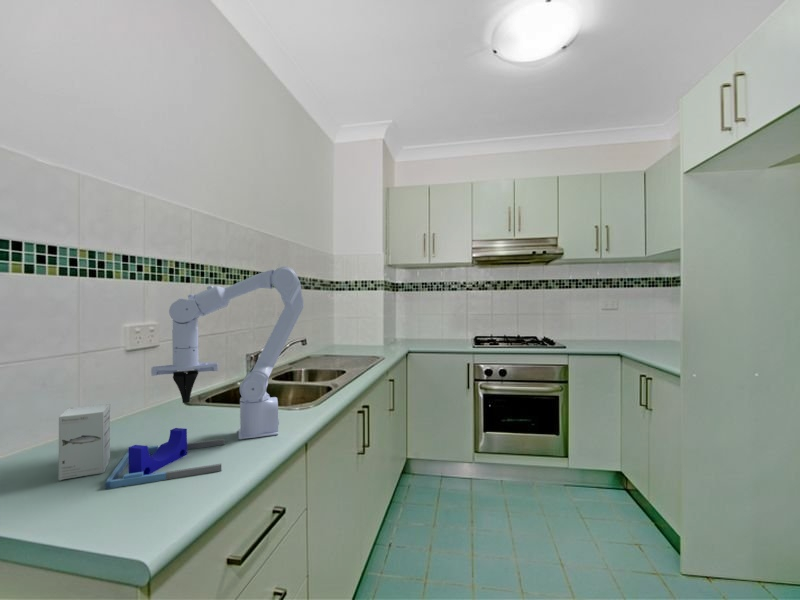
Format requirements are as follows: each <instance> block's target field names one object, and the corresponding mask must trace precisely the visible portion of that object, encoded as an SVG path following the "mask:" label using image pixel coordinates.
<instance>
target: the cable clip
mask: <svg viewBox="0 0 800 600" xmlns="http://www.w3.org/2000/svg"><path fill="white" fill-rule="evenodd" d="M187 433H188V428H183V427H182V428H180V427H174V428H172V429H170V431H169V437H168V440H167V441H166V442H164V443H162V444H160V445H159V446H158V447H159V448H158V450H157V451H156V452H155V453H154V454H150V455H149V452H148V447H149V446H148V445H140V444H133V445H132V446H129V447H128V451H129V462H128V474H130V473H137V472H143V475H148V474H154V473H155V472H156V471H158V470H160V469H163V468H164V467H166V466H168V465H170V464H172V463H173V462H176V461H177V460H179V459H181V458H182V459H183V457H185V456H187V455H188V449H187V443H188V434H187Z"/></svg>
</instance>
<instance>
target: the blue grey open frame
mask: <svg viewBox="0 0 800 600" xmlns="http://www.w3.org/2000/svg"><path fill="white" fill-rule="evenodd" d="M222 445H223V446H224V445H225V438H218V439H217V438H216V439H211V440H210V439H209V440H203V441H195V442H193V441H192V442H187V450H194V449H200V448H208V447H209V448H210V447H215V446H222ZM159 447H160V446H159V445H151V446H150V445H149V446H148V452H149V455H150V456H151V455H153V454H154V453H155V452H156V451H157V450H158V448H159ZM128 464H129V450H128V451H127V452H126V453H125V455H124V456H123V458H122V459H121V460H120V461H119V462H118V464H117V466H116V467H115V468H114V469H113V471H112V473H111V474H110V475H109V476H108V478H107V479H106V480H105V482H104V489H105V490H107V489H108V490H110V489H114V488H120V487H121V488H122V487H127V486H133V485H134V486H135V485H140V484H146V483H151V482H153V483H154V482H159V481H165V480H172V479H177V478H178V479H179V478H185V477H191V476H196V475H197V476H198V475H204V474H209V473H210V474H211V473H216V472H222V463H217V464H216V463H215V464H210V465H203V466H196V467H189V468H182V469H177V470H176V469H175V470H169V471H162V472H157V473H155V472H154V473H151V474H148V475H143V472H137V473H130V474H129V473H125V474H124V475H123V478H122V477H121V478H119V476H120V475H121V474H122V472H123V471H124V469H125V467H127V465H128Z"/></svg>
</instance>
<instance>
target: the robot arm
mask: <svg viewBox="0 0 800 600" xmlns="http://www.w3.org/2000/svg"><path fill="white" fill-rule="evenodd" d="M273 287H274V288H275V290H276V291H277V292H278V293H279V294H280V296H281V300H282V302H283V304H284V308H283V310H282V312H281V314H280V315H279V317H278V319H277V322H276V323H275V326H274V327H273V328H272V331H271V333H270V335H269V337H268V340H267V341H266V343H265V345H264V347H263V349H262V351H261V353H260V354H259V357H258V359H257V361H256V363H255V365H254V367H253V368H252V370H250V371H249V372H248V373H247V374H246V376H245V377H244V379H243V380H242V381H241V383H240V385H239V394H240V395H241V397H240V398H239V417H240V418H239V428H238V440H246V439H254V438H255V439H256V438H260V437H261V438H262V437H269V436H276V435H279V425H280V419H279V401H278V397H276V396H272V397H271V396H270V394H269V393H268V392H267V388H268V385H269V377H270V375H271V374H272V371H273V369H274V367H275V365H276V363H277V361H278V359H279V357H280V355H281V353H282V351H283V349H284V347H285V345H286V343H287V341H288V340H289V337H290V335H291V333H292V332H293V329H294V327H295V325H296V324H297V321H298V319H299V317H300V315H301V314H302V312H303V309H304V306H305V305H304V299H303V292H302V285H301V281H300V279H299V276H298V275H297V273H296V271H294V269H293V268H291V267H288V266H280V267H278V268H276V269H270V270H266V271H262V272H260V273H257V274H254V275H252V276H250V277H247V278H245V279H243V280H241V281H238V282H236V283H233V284H232V285H230V286H227V287H222V286H219V285H216V286H213V285H208V286H206V290H203V291H200V292H198V293H195V294H193V293H190V294H188V295H187V297H188V298H179V299H176V301H174V302H172V303H171V304H170V306H169V309H168V313H169V316H170V318H171V319H172V336H171V337H172V338H171V339H172V343H171V345H172V346H171V347H172V364H167V365H155V366H152V367H151V370H150V373H151V376H152V377H153V376H158V375H159V376H160V375H173V376H172V379H173V381H174V383H175V384H176V386H177V388H178V390H179V393H180V396H181V400H182V404H186V403H187V404H188V403H190V401H191V396H192V395H191V394H192V392H193V387H194V384H195V382H196V379H197V377H198V376H199V373H201V372H203V373H205V372H218V371H219V362H199V360H200V359H199V355H200V354H199V350H200V349H199V347H200V346H199V326H198V319H199V318H200V316H201V317H204V316H207V315H210V314H211V313H212V314H213V313H214V312H216V311H220V310H221V309H225V308H226V307H228V305H229V303H230V301H231V300H233V299H235V298H237V297H238V298H239V297H240V296H243V295H245V294H248V293H250V292H253V291H256V290H259V289H269V290H272V289H273Z"/></svg>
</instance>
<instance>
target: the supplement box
mask: <svg viewBox="0 0 800 600" xmlns="http://www.w3.org/2000/svg"><path fill="white" fill-rule="evenodd" d="M110 449H111V404H110V403H108V404H98V405H87V406H86V405H85V406H77V407H68V408H66V409H65V410H64V411H63V412H62V413H61V414H60V415H59V416H58V481H63V480H67V479H74V478H79V477H86V476H92V475H99V474H101V475H102V474H104V473H105V471H106V469H107V468H108V465H109V463H110V459H111V450H110Z"/></svg>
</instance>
